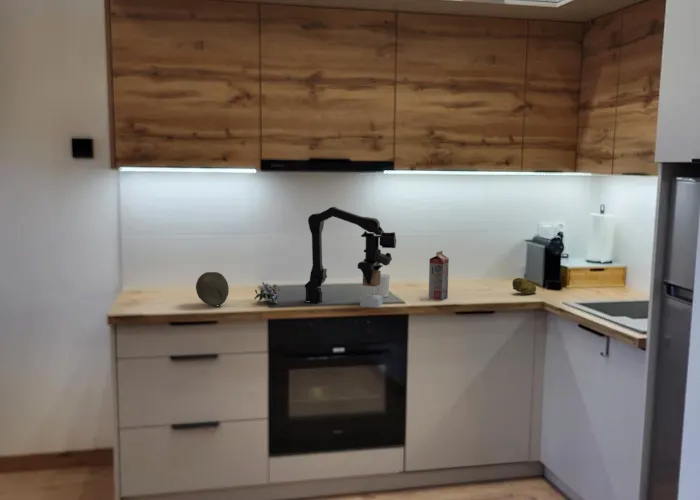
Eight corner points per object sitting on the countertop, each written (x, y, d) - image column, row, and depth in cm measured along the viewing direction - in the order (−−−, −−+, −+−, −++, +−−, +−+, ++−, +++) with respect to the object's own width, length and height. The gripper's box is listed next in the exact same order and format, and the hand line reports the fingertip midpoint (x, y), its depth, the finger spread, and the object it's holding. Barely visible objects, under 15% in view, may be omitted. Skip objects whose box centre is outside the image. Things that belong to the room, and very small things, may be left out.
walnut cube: (362, 285, 289) (362, 271, 288) (367, 283, 294) (367, 269, 293) (375, 286, 286) (375, 272, 285) (380, 284, 292) (380, 270, 291)
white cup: (379, 298, 305) (379, 277, 304) (369, 295, 312) (369, 274, 311) (392, 296, 310) (393, 275, 308) (382, 293, 316) (383, 273, 315)
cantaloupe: (232, 302, 294) (231, 269, 292) (225, 309, 280) (224, 274, 278) (200, 302, 295) (199, 269, 292) (192, 309, 281) (191, 274, 278)
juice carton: (447, 298, 307) (448, 251, 304) (441, 300, 302) (443, 252, 299) (434, 296, 311) (435, 250, 308) (428, 299, 305) (429, 251, 302)
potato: (540, 295, 315) (541, 278, 314) (515, 296, 313) (515, 279, 312) (533, 292, 323) (534, 275, 322) (508, 292, 321) (509, 276, 320)
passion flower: (275, 315, 293) (280, 297, 285) (251, 312, 291) (255, 293, 284) (277, 297, 302) (282, 279, 294) (253, 293, 300) (257, 275, 292)
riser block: (360, 307, 289) (360, 298, 288) (365, 303, 296) (365, 294, 296) (378, 308, 287) (378, 299, 286) (382, 304, 294) (382, 295, 294)
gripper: (381, 251, 276) (381, 287, 278) (396, 245, 293) (395, 280, 295) (357, 249, 281) (356, 285, 283) (373, 244, 298) (372, 278, 300)
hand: (371, 282), depth 290 cm, fingers closed on walnut cube, 6 cm apart
